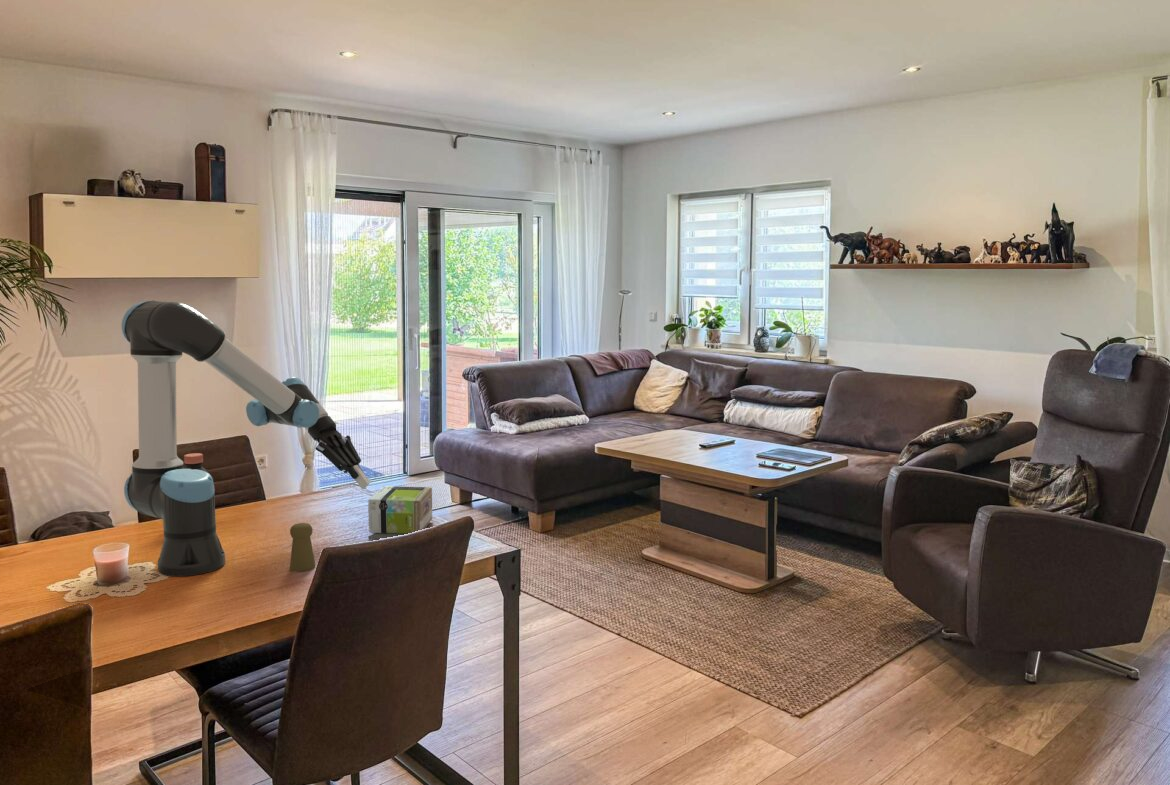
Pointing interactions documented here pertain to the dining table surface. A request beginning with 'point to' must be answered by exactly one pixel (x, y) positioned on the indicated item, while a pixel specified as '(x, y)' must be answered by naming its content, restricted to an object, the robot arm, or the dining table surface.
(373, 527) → the tea box
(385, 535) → the mat
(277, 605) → the dining table surface
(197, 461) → the bottle
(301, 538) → the olive green pawn
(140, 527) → the dining table surface
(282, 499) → the dining table surface
